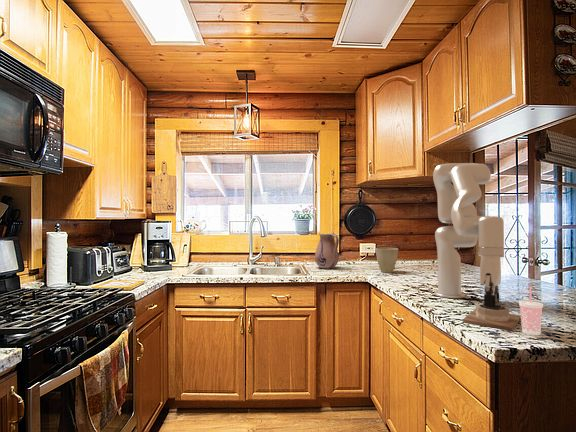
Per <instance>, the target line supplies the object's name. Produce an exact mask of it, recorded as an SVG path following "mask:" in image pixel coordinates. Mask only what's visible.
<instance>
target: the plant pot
mask: <svg viewBox="0 0 576 432" xmlns="http://www.w3.org/2000/svg"><path fill="white" fill-rule="evenodd" d="M374 250H375V256H376V259H377V264H378V267H379V270H380V272H381V273H383V274H384V273H385V274H392V273H393V272H394V269H395V267H396V263H397V260H398V254H399V248H396V247H375V249H374Z"/></svg>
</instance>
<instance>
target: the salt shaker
mask: <svg viewBox="0 0 576 432" xmlns="http://www.w3.org/2000/svg"><path fill="white" fill-rule="evenodd" d="M490 286H493V285H492V284H490ZM491 289H492V288H491ZM497 293H498V292H497V290H496V287H495V290H494V295H495V307H487V306H484V300H482V301H481V304H483V306H484V307H485V308H486V309H492V310H499V309H500V308H501V306H503V305H502V302H500V301H499V302H498V300H497Z"/></svg>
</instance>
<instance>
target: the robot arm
mask: <svg viewBox="0 0 576 432" xmlns="http://www.w3.org/2000/svg"><path fill="white" fill-rule="evenodd" d="M432 175H433V176H432V178H433V180H432V181H433V183H434V188H435V190H436V194H437V216H438V217H437V218H438V220H439V222H441V223H444V224H452V225H446V226H440V227H438V228H437V229H436V230H435V232H434V238H435V243H436V245H435V246H436V252H437V290H436V291H434V295H435V296H437V297H441V298H445V299H463V298H466V294H465V292H462V268H461V267H462V266H461V264H462V263H461V262H462V261H461V260H462V259H461V255H460V253H459V252H458V251H457V249H456V248H471V247H472V248H473V247H475V246H476V245H477V242H478V257H480V263H479V266H480V267H479V285H480V286H484V289H483V290H484V292H483V298H484V299H483V301H484V306H487V307H495V295H494V290H495V287H496V290H497V292H498V293H497V300H498V302H500V288H499V285H500V284H501V281H502V268H501V266H502V264H501V262H502V261H501V258H504V257H505V232H504V231H505V227H504V222H505V221H504V219H503V217H501V216H493V215H492V216H491V215H478V211H477V208H476V206H475V205H474V203H476V202H477V201H479V200H480V199H481V197H482V190H481V188H480V185H485V184H488V183H489V181H490V180H491V169H490V168H489V166H488V165H487V164H485V163H477V162H475V163H474V162H460V163H459V162H457V163H456V162H455V163H453V162H451V163H448V162H447V163H441V164H438V165H436V167H435V168H434V170H433V174H432ZM490 284H492V285H493V286H490ZM491 288H492V289H491Z"/></svg>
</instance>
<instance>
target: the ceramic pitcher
mask: <svg viewBox="0 0 576 432" xmlns="http://www.w3.org/2000/svg"><path fill="white" fill-rule="evenodd" d="M318 236H319V240H318V244H317V246H316V250H315V253H314V262H315V263H316V265H317V266H318V267H319V268H321V269H327V270H328V269H330V270H331V269H334V268H335V267H336V266H337V264H338V263H339V260H340V259H339V258H340V257H339V251H338V247H339V243H340V242H339V241H340V239H339V236H338V235H337V234H333V233H326V234H325V233H320V234H318Z"/></svg>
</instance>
